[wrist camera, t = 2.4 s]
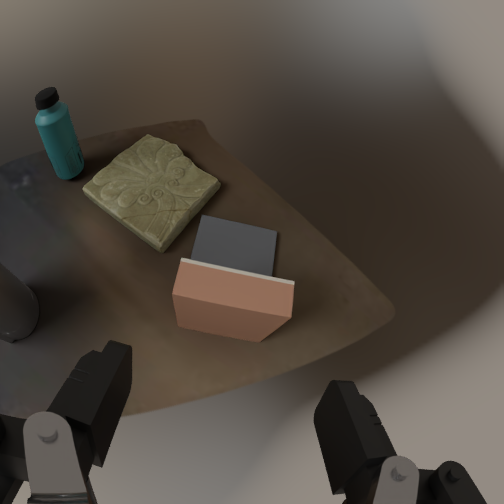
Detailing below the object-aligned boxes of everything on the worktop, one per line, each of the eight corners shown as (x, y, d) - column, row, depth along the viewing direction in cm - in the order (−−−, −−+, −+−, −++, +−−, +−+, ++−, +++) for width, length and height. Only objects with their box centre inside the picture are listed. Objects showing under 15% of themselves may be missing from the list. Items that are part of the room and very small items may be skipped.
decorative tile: (161, 256, 46) (159, 246, 43) (84, 197, 48) (79, 185, 45) (226, 185, 55) (229, 173, 52) (150, 140, 57) (149, 128, 54)
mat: (266, 311, 45) (267, 309, 44) (182, 294, 43) (182, 292, 42) (275, 233, 51) (277, 231, 51) (201, 217, 50) (202, 214, 49)
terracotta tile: (259, 342, 42) (291, 317, 29) (178, 326, 41) (172, 293, 28) (262, 317, 44) (294, 281, 31) (183, 301, 43) (181, 257, 30)
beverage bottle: (89, 177, 49) (65, 93, 32) (59, 190, 47) (26, 110, 29) (83, 156, 51) (63, 76, 34) (55, 169, 49) (27, 91, 31)
